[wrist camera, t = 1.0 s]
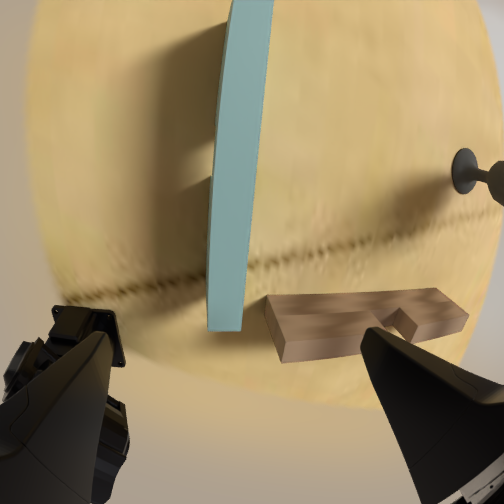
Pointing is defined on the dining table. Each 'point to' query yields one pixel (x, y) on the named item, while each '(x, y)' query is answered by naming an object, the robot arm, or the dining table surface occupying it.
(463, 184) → the sundae
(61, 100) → the dining table surface
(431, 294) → the walnut slotted plate
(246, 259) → the teal slotted plate
